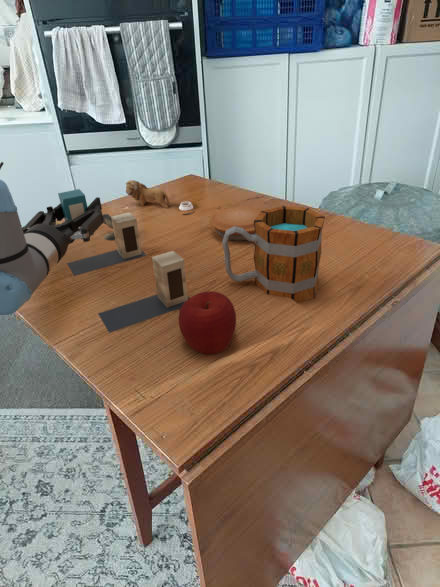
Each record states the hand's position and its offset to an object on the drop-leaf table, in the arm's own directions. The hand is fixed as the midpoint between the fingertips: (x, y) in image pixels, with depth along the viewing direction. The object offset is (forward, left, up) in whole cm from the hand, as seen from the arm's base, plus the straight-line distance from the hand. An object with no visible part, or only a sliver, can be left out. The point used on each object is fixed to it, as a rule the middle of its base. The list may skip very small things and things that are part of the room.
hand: (83, 203), depth 95 cm
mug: (+33, +28, -14) cm, 45 cm away
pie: (+6, +37, -14) cm, 40 cm away
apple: (+43, +8, -14) cm, 46 cm away
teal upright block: (+4, -3, -5) cm, 7 cm away
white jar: (-14, +31, -14) cm, 37 cm away
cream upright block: (+28, +8, -13) cm, 32 cm away
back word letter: (+4, +7, -13) cm, 15 cm away
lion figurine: (-22, +23, -14) cm, 35 cm away
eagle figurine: (-8, +8, -14) cm, 18 cm away
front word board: (+28, +2, -14) cm, 32 cm away
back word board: (+4, +2, -14) cm, 15 cm away
